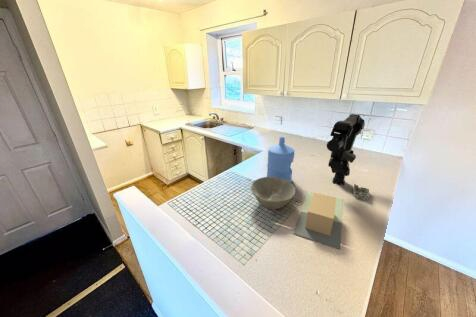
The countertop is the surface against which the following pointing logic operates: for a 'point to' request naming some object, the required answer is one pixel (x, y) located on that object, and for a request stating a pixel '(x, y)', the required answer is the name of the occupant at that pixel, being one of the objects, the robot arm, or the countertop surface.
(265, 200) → the ceramic bowl
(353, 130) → the robot arm
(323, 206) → the kraft carton
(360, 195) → the egg carton
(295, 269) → the countertop surface
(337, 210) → the board
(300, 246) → the countertop surface
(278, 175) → the water jug
